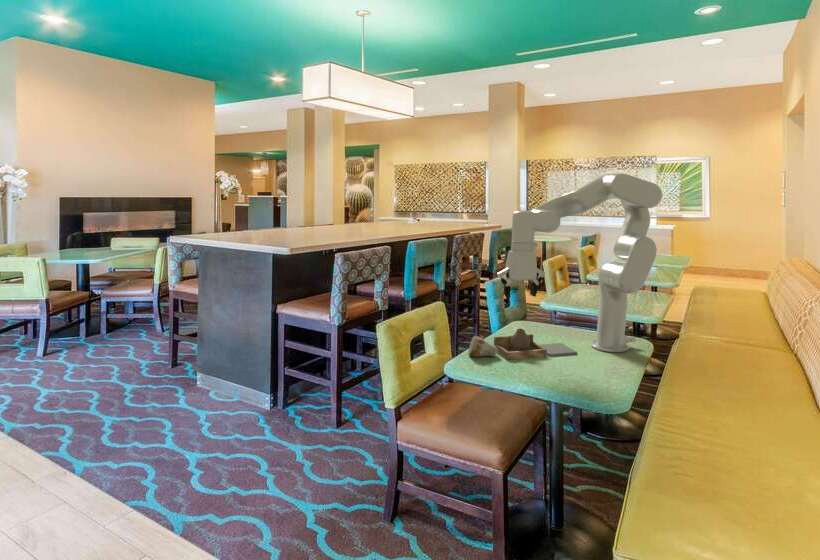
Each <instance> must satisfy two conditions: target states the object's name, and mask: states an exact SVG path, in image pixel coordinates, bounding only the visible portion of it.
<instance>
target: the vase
mask: <svg viewBox="0 0 820 560" xmlns="http://www.w3.org/2000/svg"><path fill="white" fill-rule="evenodd" d="M527 334H528V333H526V331H525V329H523V328H517V329H516V331H515V332H514V333H513V334H512V335H511V336H512V337H511V340H510V347H511V350H510V351H511V352H512V351H524V350H530V349H531V348H530V340H529V337H528V336H527Z"/></svg>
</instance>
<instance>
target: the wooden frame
mask: <svg viewBox="0 0 820 560" xmlns="http://www.w3.org/2000/svg"><path fill="white" fill-rule="evenodd" d="M526 334H527V336H528V337H529V340H530V348H529V350H524V351H512V350H511V347H510V340H511V337H512V336H513V335H500V336H494V337H493V345H494V346H496V347H497V354H498V355H499V356H501V357H503V359H505V360H506V361H510V360H522V359H534V358H535V359H536V358H546V357H547V356H548V355H547V349H545V348H543V347H542V346H540V344H538V343H536V342H535V341H534V334H532V333H526Z"/></svg>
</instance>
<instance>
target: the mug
mask: <svg viewBox="0 0 820 560" xmlns="http://www.w3.org/2000/svg"><path fill="white" fill-rule="evenodd" d="M497 354H498V353H497V347H496V346H494V344H490V343H489V342H487V341H486V340H485V339H483V338H482V337H480V336H477V335H474V336H473V337H472V338H471V341H470V343H469V348H468V355H469V356H471V357H474V358H475V357H487V356H488V357H491V358H492V357H493V358H494V357H495V356H497Z"/></svg>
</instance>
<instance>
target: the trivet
mask: <svg viewBox="0 0 820 560" xmlns="http://www.w3.org/2000/svg"><path fill="white" fill-rule="evenodd" d="M539 345H540V346H542V347H543V348H545V349H547V356H548V357H557V356H568V355H569V356H570V355H578V351H576V350H575V349H573V348H571V347H569V346H567V345H565V344H564V343H562V342H556V343H555V342H554V343H544V344H543V343H540V344H539Z"/></svg>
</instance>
